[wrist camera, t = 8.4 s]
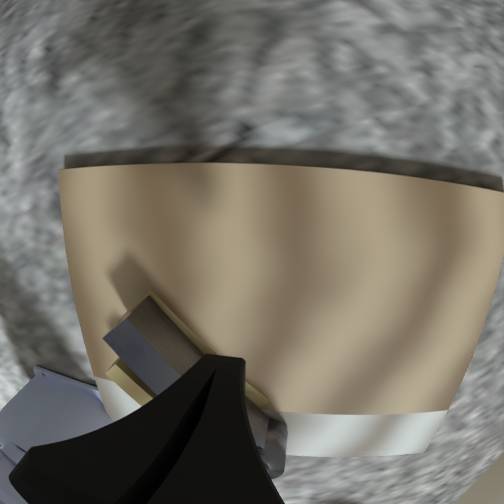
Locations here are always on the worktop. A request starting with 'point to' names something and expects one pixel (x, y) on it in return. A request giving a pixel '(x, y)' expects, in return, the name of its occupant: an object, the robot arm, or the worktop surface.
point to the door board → (293, 287)
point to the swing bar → (183, 370)
